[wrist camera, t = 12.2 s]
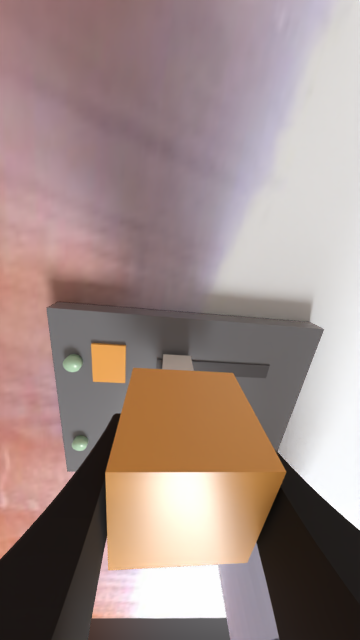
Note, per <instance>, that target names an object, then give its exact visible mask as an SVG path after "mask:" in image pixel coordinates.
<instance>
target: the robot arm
mask: <svg viewBox="0 0 360 640" xmlns="http://www.w3.org/2000/svg"><path fill="white" fill-rule="evenodd" d="M120 415H121V413H115V414H114V415H113V416H112V418H111V420H110V422H109V424H108V425H107V427H106V429H105V430H104V432H103V434H102V435H101V437H100V438H99V440H98V441H97V443H96V444H95V446H94V447H93V449H92V450H91V452H90V453H89V455H88V456H87V457H86V459H85V460H84V462H83V463H82V464H81V466H80V467H79V468H78V470H77V471H76V472H75V474H74V475H73V476H72V478H71V479H70V480H69V482H68V483H67V484H66V485H65V487H64V488H63V489H62V490H61V492H60V493H59V494H58V495H57V497H56V498H55V499H54V500H53V501H52V502H51V504H50V505H49V506H48V507H47V508H46V510H45V511H44V512H43V513H42V514H41V515H40V516H39V518H38V519H37V520H36V521H35V522H34V523H33V524H32V525H31V527H30V528H29V529H28V530H27V531H26V532H25V533H24V534H23V536H22V537H21V538H20V539H19V540H18V541H17V542H16V543H15V544H14V545H13V546H12V548H11V549H10V550H9V551H8V552H7V553H6V554H5V555H4V556H3V557H2V558H1V559H0V640H88V635H89V629H90V624H91V618H92V612H93V607H94V601H95V596H96V590H97V585H98V579H99V574H100V568H101V563H102V558H103V552H104V547H105V543H106V538H107V512H106V479H105V472H106V468H107V464H108V460H109V457H110V453H111V449H112V445H113V442H114V438H115V434H116V430H117V427H118V423H119V419H120ZM274 450H275V449H274ZM275 452H276V453H277V455H278V457H279V459H280V461H281V463H282V465H283V466H284V468H285V470H286V474H285V477H284V479H283V481H282V484H281V486H280V488H279V491H278V493H277V495H276V497H275V500H274V502H273V504H272V507H271V509H270V511H269V514H268V516H267V518H266V521H265V523H264V525H263V528H262V530H261V532H260V535H259V537H258V539H257V542H256V544H255V546H254V548H253V551H252V553H251V555H250V558H249V560H248V562H247V563H237V564H218V568H219V574H220V580H221V586H222V592H223V598H224V604H225V610H226V616H227V622H228V628H229V634H230V640H360V530H358V529H357V528H356V527H355V526H354V525H352V524H351V523H350V522H349V521H348V520H347V519H345V518H344V517H343V516H342V515H341V514H340V513H339V512H337V511H336V510H335V509H334V508H333V507H332V506H331V505H330V504H329V503H328V502H327V501H325V500H324V499H323V498H322V497H321V496H320V495H319V494H318V493H317V492H316V491H315V490H314V489H313V488H312V487H311V486H310V485H308V484H307V483H306V482H305V481H304V479H303V478H302V477H301V476H300V475H299V474H298V473H297V472H296V471H295V470H294V469H293V468H292V467H291V466H290V465H289V464H288V463H287V462H286V461H285V460H284V459H283V458H282V457H281V455H280V454H279V453H278V452H277V451H276V450H275Z"/></svg>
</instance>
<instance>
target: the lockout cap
mask: <svg viewBox="0 0 360 640" xmlns="http://www.w3.org/2000/svg"><path fill="white" fill-rule="evenodd" d="M285 474H286V470H285V468H284V466H283V465H282V463H281V461H280V459H279V457H278V455H277V453H276V452H275V450H274V448H273V446H272V444H271V442H270V440H269V439H268V437H267V435H266V433H265V431H264V429H263V428H262V426H261V424H260V422H259V420H258V418H257V416H256V415H255V413H254V411H253V409H252V407H251V405H250V403H249V402H248V400H247V398H246V396H245V394H244V392H243V391H242V389H241V387H240V385H239V383H238V381H237V379H236V378H235V376H234V374H233V373H226V372H206V371H187V370H167V369H148V368H133V370H132V374H131V378H130V382H129V385H128V389H127V393H126V397H125V400H124V404H123V408H122V412H121V415H120V419H119V423H118V427H117V430H116V434H115V438H114V442H113V445H112V449H111V453H110V457H109V460H108V464H107V468H106V472H105V479H106V512H107V544H108V570H123V569H142V568H161V567H180V566H199V565H218V564H237V563H247V562H248V560H249V558H250V555H251V553H252V551H253V548H254V546H255V544H256V542H257V539H258V537H259V535H260V532H261V530H262V528H263V525H264V523H265V521H266V518H267V516H268V514H269V511H270V509H271V507H272V504H273V502H274V500H275V497H276V495H277V493H278V491H279V488H280V486H281V484H282V481H283V479H284V477H285Z"/></svg>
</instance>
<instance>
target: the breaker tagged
mask: <svg viewBox="0 0 360 640" xmlns="http://www.w3.org/2000/svg"><path fill="white" fill-rule="evenodd" d="M162 369H167V370H187V371H194V369H193V365H192V360H191V356H186V355H168V354H163V364H162Z"/></svg>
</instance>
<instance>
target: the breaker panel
mask: <svg viewBox="0 0 360 640" xmlns="http://www.w3.org/2000/svg"><path fill="white" fill-rule="evenodd" d="M47 316H48V324H49V332H50V339H51V347H52V355H53V363H54V371H55V379H56V386H57V394H58V402H59V410H60V418H61V426H62V433H63V441H64V449H65V457H66V465H67V471H77V470H78V468H79V467H80V466H81V464H82V463H83V462H84V460H85V459H86V457H87V456H88V455H89V453H90V452H91V450H92V449H93V447H94V446H95V444H96V443H97V441H98V440H99V438H100V437H101V435H102V434H103V432H104V430H105V429H106V427H107V425H108V424H109V422H110V420H111V418H112V416H113V415H114V414H115V413H121V412H122V408H123V404H124V400H125V397H126V393H127V389H128V385H129V382H130V378H131V374H132V370H133V368H148V369H162V364H163V354H168V355H186V356H191V360H192V365H193V369H194V371H206V372H226V373H233V374H234V376H235V378H236V379H237V381H238V383H239V385H240V387H241V389H242V391H243V392H244V394H245V396H246V398H247V400H248V402H249V403H250V405H251V407H252V409H253V411H254V413H255V415H256V416H257V418H258V420H259V422H260V424H261V426H262V428H263V429H264V431H265V433H266V435H267V437H268V439H269V440H270V442H271V444H272V446H273V448H274V449H275V450H276V451H278V448H279V445H280V443H281V440H282V438H283V435H284V432H285V430H286V427H287V424H288V422H289V419H290V417H291V414H292V411H293V409H294V406H295V404H296V401H297V398H298V396H299V393H300V391H301V388H302V385H303V383H304V380H305V377H306V375H307V372H308V370H309V367H310V364H311V362H312V359H313V357H314V354H315V351H316V349H317V346H318V343H319V341H320V338H321V336H322V333H323V330H324V329H323V328H321V327H319V326H317V325H315V324H313V323H311V322H301V321H289V320H276V319H264V318H252V317H239V316H227V315H215V314H202V313H190V312H178V311H165V310H153V309H141V308H128V307H116V306H104V305H91V304H79V303H67V302H57V303H55V304H53V305H51V306H49V307H47Z"/></svg>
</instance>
